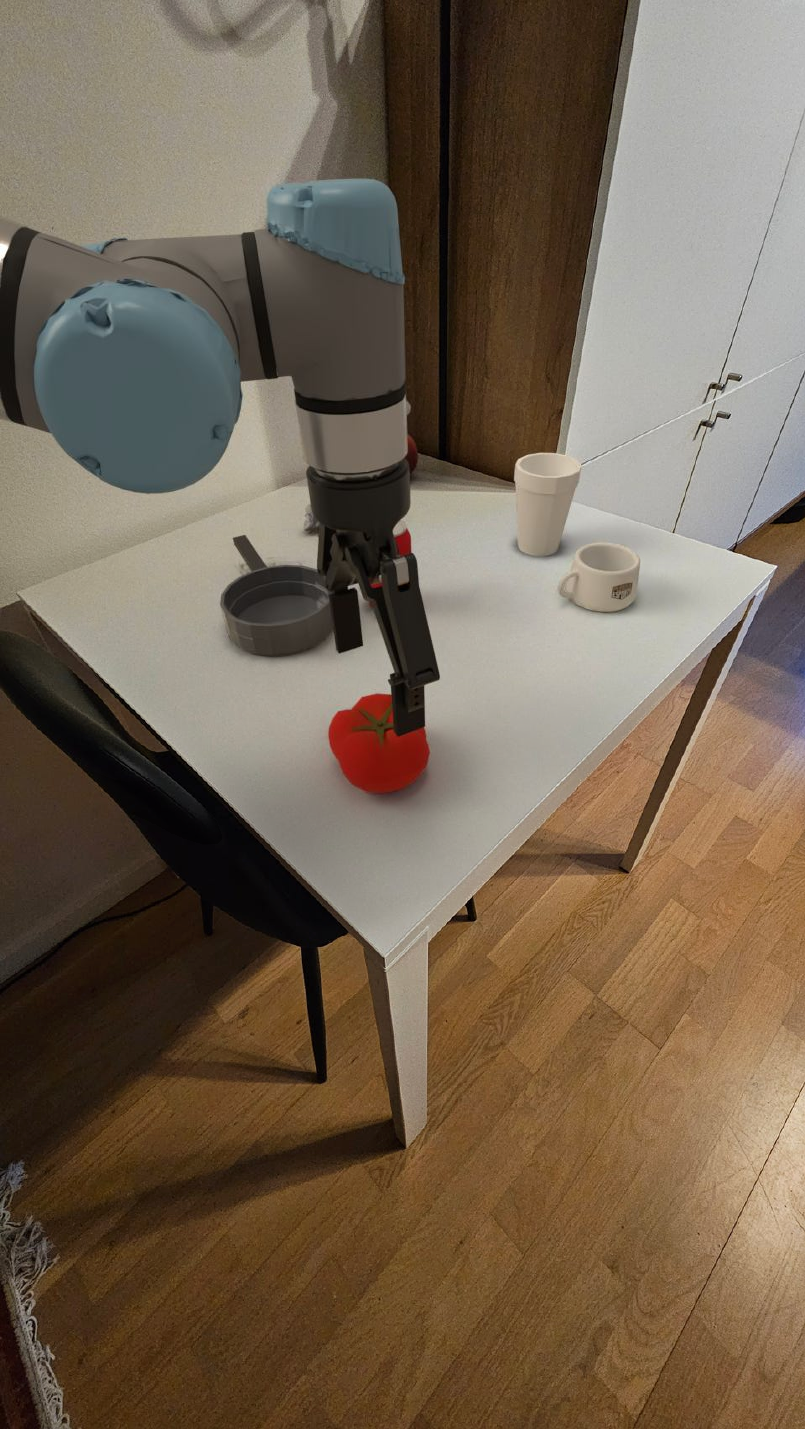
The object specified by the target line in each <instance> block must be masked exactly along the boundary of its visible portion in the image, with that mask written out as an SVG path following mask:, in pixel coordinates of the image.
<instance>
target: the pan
mask: <svg viewBox="0 0 805 1429" xmlns="http://www.w3.org/2000/svg"><path fill="white" fill-rule="evenodd" d="M324 581H325V576H324V577H320V576H319V574H318V573H317V568H315V567H309V566H305V565H301V564H300V565H299V564H279V565H278V564H277V565H269V566H267V567H265V568H261V569H257V570H253V571H251V570H250V571H249V572H247V573H244V574H243V575H240V576H238V577H236V579H234V580H233V581H231V582H230V583H228V585H227V586H226V587H225V588H224V590H223V591H222V593H221V595H220V600H219V606H220V610H221V613H222V617H223V621H224V624H225V628H226V632H227V634H228V636H229V639H230V640H231V642H232V643H234V644H235V645H236V646H238V648H240V649H241V650H244V651H246V652H247V653H248V652H249V653H251V654H254V655H258V656H264V657H265V656H266V657H281V656H291V655H295V654H298V653H302V652H305V651H308V650H310V649H312V648H314V647H317V646H318V645H320V644H321V643H322V642H324V641H325V640H326V639H327V638H328V637H329V636H330V635H331V634H332V633H333V632H334V631H333V624H332V617H331V610H330V603H329V596H328V595H330V594H331V591H330V592H328V591H327V589H326V588H325V585H324V584H325V583H324Z"/></svg>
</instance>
